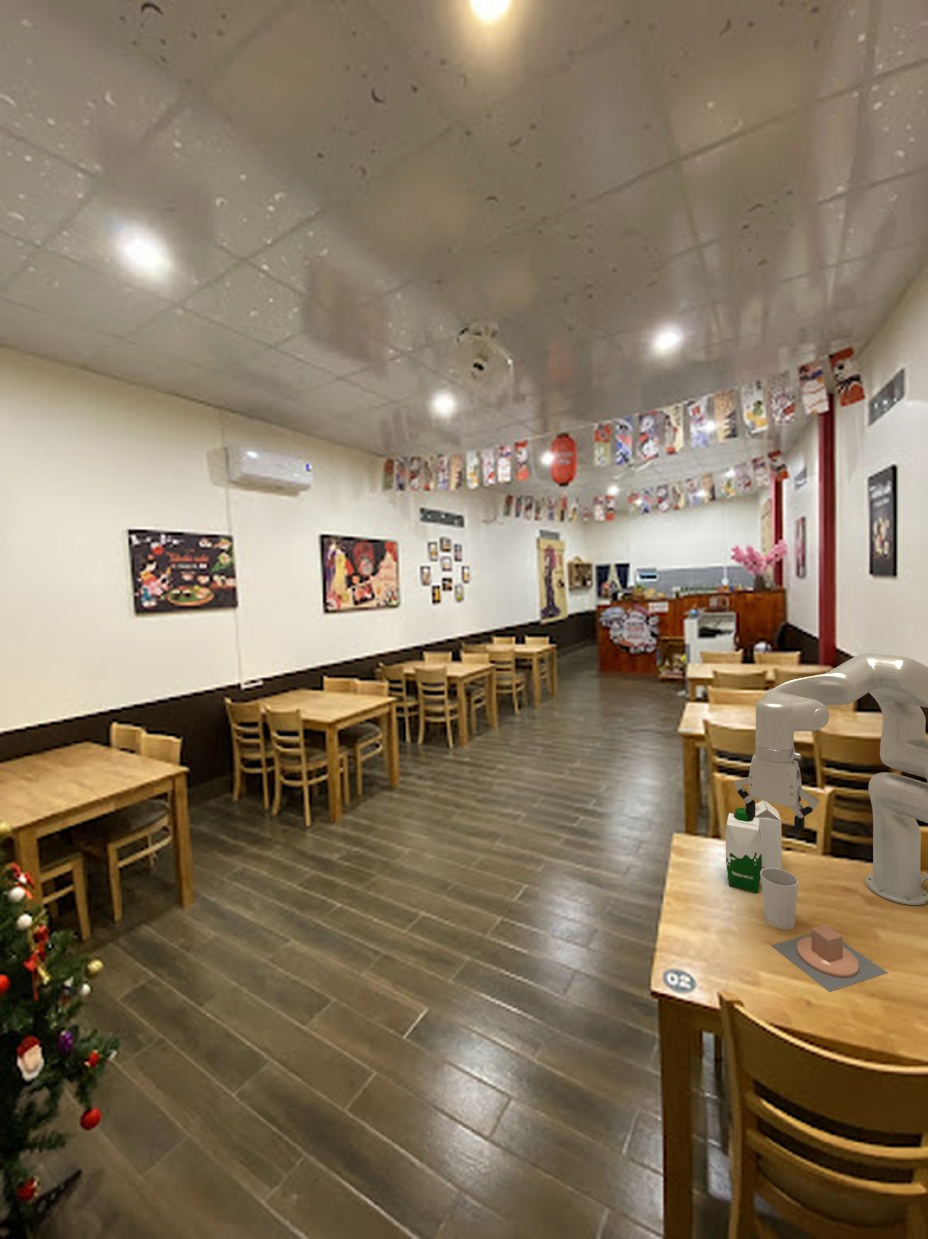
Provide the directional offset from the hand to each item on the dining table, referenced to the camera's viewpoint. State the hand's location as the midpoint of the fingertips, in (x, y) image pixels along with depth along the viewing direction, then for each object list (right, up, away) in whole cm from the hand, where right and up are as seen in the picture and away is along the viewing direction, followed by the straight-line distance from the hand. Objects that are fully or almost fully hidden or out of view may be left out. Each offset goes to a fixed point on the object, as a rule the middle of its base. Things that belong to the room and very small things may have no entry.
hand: (774, 825), depth 117 cm
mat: (+8, -28, -6) cm, 29 cm away
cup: (+5, -27, +7) cm, 29 cm away
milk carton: (+18, -25, +33) cm, 45 cm away
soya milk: (+6, -26, +23) cm, 35 cm away
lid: (+8, -27, -6) cm, 29 cm away
